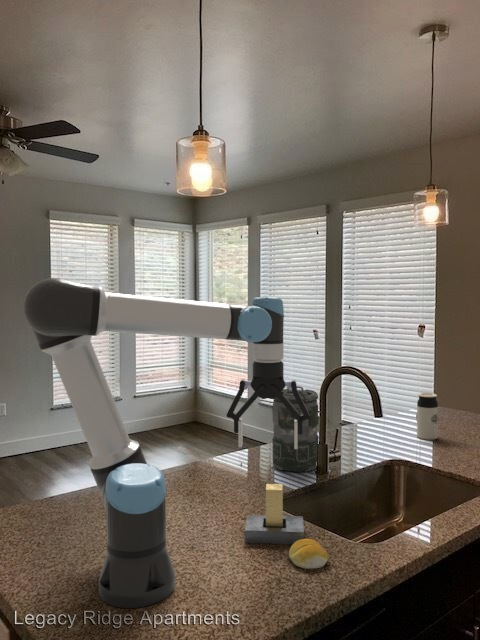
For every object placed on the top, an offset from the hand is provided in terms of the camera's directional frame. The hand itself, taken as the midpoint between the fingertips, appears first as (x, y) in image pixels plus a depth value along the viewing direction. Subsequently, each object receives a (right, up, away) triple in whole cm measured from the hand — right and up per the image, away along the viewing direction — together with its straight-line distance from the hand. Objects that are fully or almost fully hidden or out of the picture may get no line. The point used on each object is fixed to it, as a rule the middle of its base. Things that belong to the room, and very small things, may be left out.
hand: (268, 446), depth 130 cm
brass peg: (+2, -22, 0) cm, 22 cm away
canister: (+12, -20, +53) cm, 58 cm away
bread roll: (+8, -22, -13) cm, 27 cm away
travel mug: (+71, -18, +89) cm, 115 cm away
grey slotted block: (+2, -22, 0) cm, 22 cm away
